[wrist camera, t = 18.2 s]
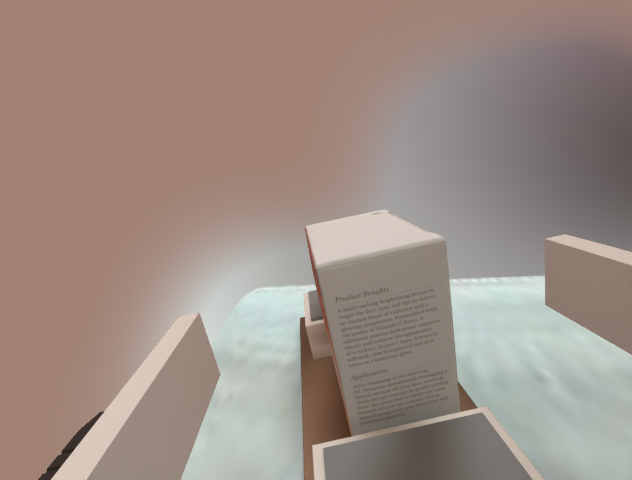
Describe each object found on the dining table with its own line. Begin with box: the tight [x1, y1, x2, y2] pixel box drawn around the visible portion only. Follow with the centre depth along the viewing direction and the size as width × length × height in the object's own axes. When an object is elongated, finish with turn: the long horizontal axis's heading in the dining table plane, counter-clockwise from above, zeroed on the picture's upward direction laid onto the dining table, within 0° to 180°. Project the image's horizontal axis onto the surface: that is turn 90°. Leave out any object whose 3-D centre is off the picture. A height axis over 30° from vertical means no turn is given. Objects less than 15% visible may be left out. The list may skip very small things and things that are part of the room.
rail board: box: [300, 290, 544, 480], centre depth 19 cm, size 10×24×4 cm, turn 4°
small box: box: [305, 210, 460, 437], centre depth 17 cm, size 8×6×10 cm
